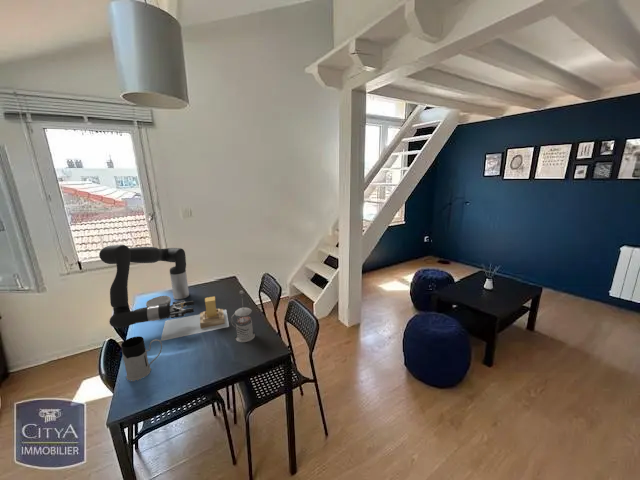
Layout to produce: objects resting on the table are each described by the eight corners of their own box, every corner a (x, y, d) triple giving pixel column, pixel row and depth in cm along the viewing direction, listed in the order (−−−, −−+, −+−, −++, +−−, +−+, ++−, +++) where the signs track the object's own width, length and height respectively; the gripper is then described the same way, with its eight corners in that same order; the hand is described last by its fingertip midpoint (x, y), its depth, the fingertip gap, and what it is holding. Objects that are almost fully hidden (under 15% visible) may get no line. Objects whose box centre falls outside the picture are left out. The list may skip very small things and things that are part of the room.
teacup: (149, 310, 165) (147, 297, 163) (172, 305, 171) (171, 293, 169) (146, 322, 152) (143, 309, 150) (171, 317, 157) (169, 304, 155)
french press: (249, 343, 134) (246, 296, 127) (228, 340, 136) (223, 294, 130) (258, 331, 143) (255, 287, 137) (237, 329, 145) (233, 285, 139)
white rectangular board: (165, 322, 152) (165, 320, 152) (226, 310, 164) (226, 309, 164) (160, 342, 134) (160, 340, 134) (229, 328, 146) (229, 326, 146)
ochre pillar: (207, 314, 152) (205, 297, 150) (216, 312, 154) (214, 296, 152) (207, 318, 148) (205, 301, 145) (217, 316, 150) (215, 300, 147)
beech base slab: (200, 317, 155) (199, 310, 154) (223, 313, 159) (222, 306, 158) (200, 328, 144) (199, 321, 143) (224, 323, 149) (224, 316, 148)
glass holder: (128, 369, 116) (122, 338, 113) (166, 360, 122) (161, 330, 118) (123, 384, 109) (116, 351, 105) (164, 373, 114) (159, 341, 110)
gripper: (155, 312, 133) (192, 305, 139) (159, 299, 145) (193, 294, 152) (158, 325, 135) (194, 318, 141) (161, 312, 147) (194, 306, 153)
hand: (193, 306), depth 146 cm, fingers open, 8 cm apart
